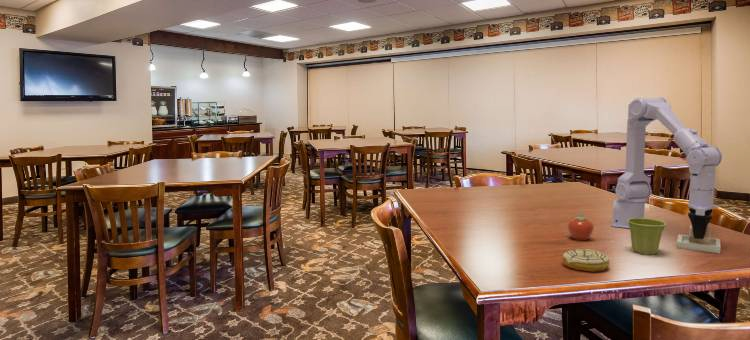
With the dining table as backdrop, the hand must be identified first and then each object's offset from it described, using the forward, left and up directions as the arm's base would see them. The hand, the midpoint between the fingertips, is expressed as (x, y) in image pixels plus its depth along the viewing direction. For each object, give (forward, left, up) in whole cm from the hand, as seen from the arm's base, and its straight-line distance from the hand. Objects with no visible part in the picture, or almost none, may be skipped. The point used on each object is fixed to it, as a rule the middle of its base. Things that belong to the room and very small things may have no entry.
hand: (698, 235), depth 131 cm
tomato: (-30, -9, -3) cm, 32 cm away
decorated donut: (-23, -36, -4) cm, 43 cm away
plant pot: (-12, -14, -3) cm, 19 cm away
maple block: (0, 0, -3) cm, 3 cm away
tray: (0, 0, -3) cm, 3 cm away
